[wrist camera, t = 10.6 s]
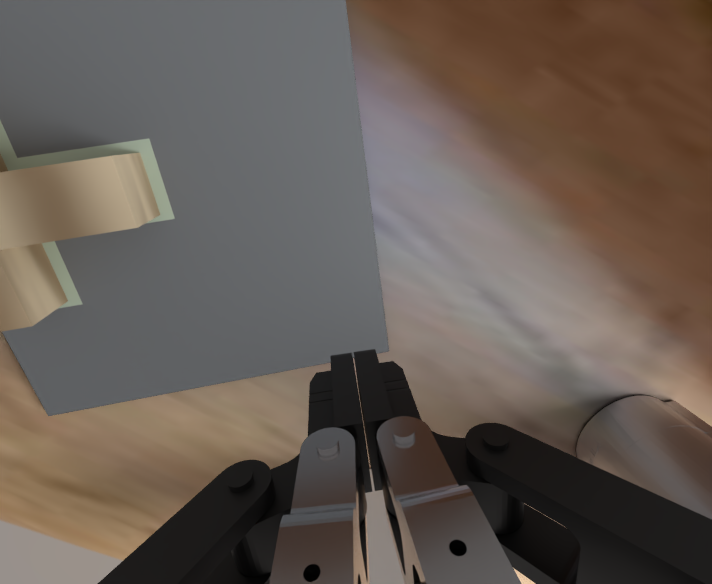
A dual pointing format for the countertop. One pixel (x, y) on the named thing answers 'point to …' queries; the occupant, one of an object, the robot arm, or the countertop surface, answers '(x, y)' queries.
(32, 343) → the board
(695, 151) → the countertop surface
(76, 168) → the t block
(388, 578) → the milk
